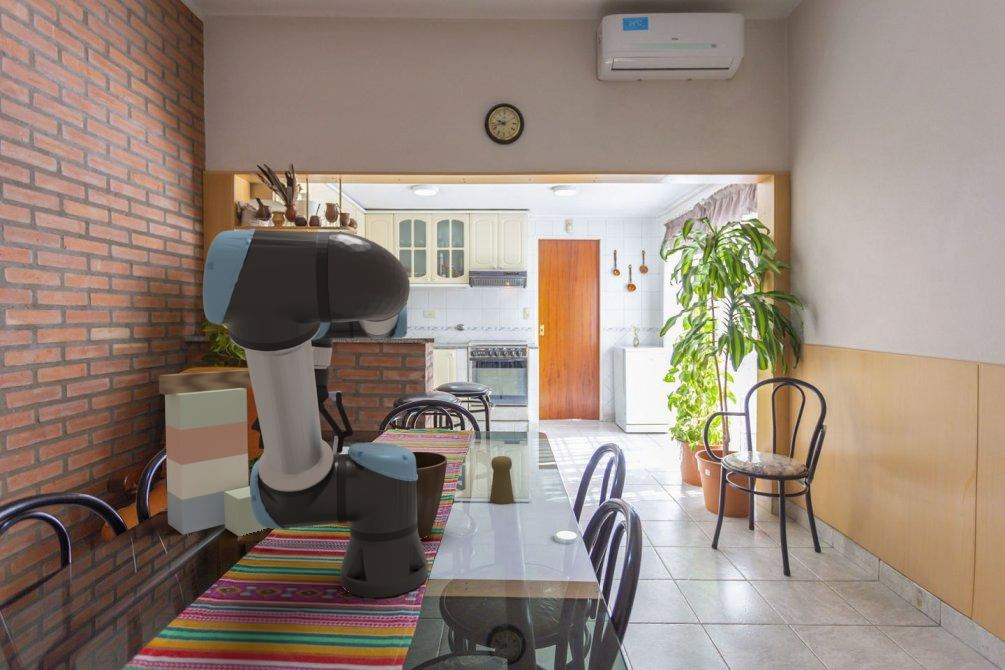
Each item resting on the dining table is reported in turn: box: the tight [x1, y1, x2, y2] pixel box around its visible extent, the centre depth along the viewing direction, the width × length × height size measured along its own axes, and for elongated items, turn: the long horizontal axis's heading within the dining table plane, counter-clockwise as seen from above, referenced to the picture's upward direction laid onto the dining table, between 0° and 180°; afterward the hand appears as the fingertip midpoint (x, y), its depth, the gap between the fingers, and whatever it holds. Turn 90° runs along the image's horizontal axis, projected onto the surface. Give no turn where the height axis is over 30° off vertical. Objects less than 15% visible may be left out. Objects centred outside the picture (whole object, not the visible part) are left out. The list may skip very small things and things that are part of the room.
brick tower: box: [164, 388, 249, 535], centre depth 129 cm, size 14×10×30 cm
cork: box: [489, 455, 515, 505], centre depth 142 cm, size 6×6×11 cm
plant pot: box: [411, 451, 448, 539], centre depth 119 cm, size 15×15×16 cm
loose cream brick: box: [224, 485, 267, 537], centre depth 126 cm, size 12×8×8 cm, turn 137°
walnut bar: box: [158, 368, 252, 396], centre depth 131 cm, size 26×4×4 cm, turn 137°
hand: (299, 466), depth 119 cm, fingers open, 13 cm apart
